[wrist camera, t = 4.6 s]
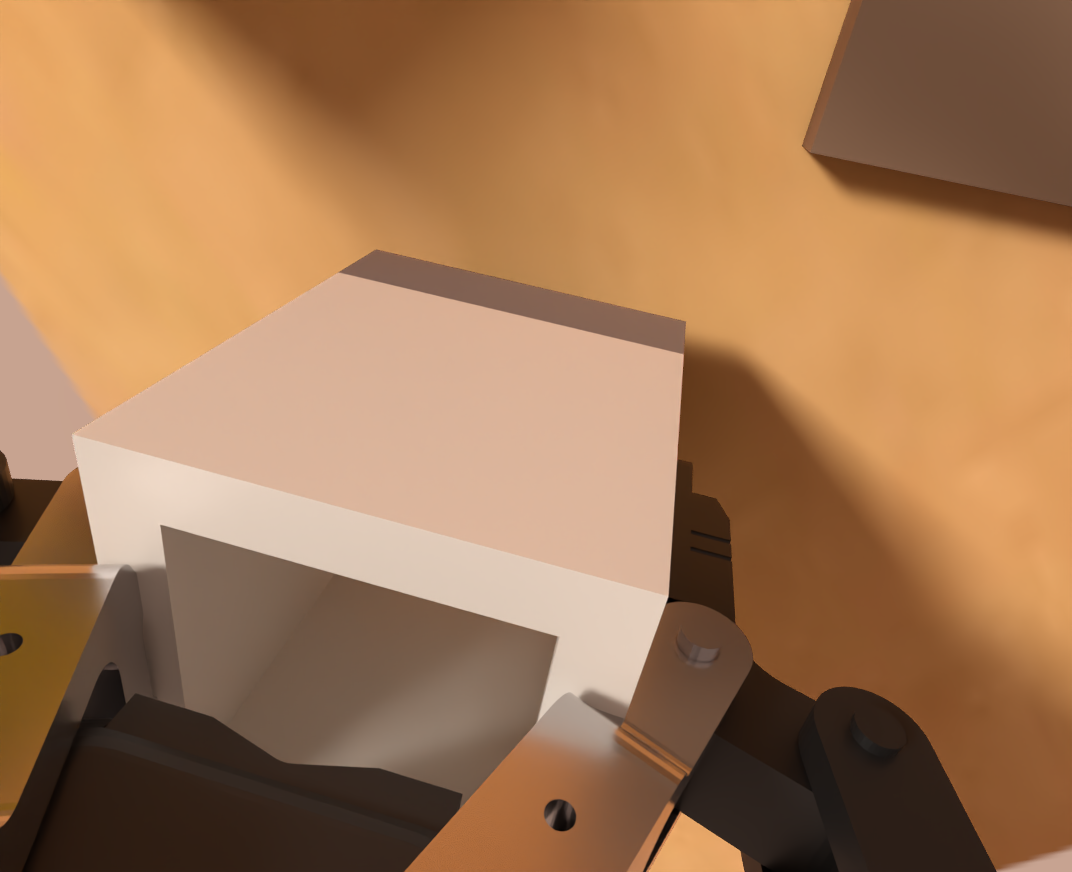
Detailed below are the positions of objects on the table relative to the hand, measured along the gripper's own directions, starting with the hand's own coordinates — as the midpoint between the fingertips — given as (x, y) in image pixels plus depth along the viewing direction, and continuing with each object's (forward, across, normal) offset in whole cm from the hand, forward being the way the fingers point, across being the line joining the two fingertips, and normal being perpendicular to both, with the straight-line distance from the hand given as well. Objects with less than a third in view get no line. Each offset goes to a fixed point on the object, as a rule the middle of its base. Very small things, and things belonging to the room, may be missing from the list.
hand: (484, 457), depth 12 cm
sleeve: (+1, 0, 0) cm, 1 cm away
